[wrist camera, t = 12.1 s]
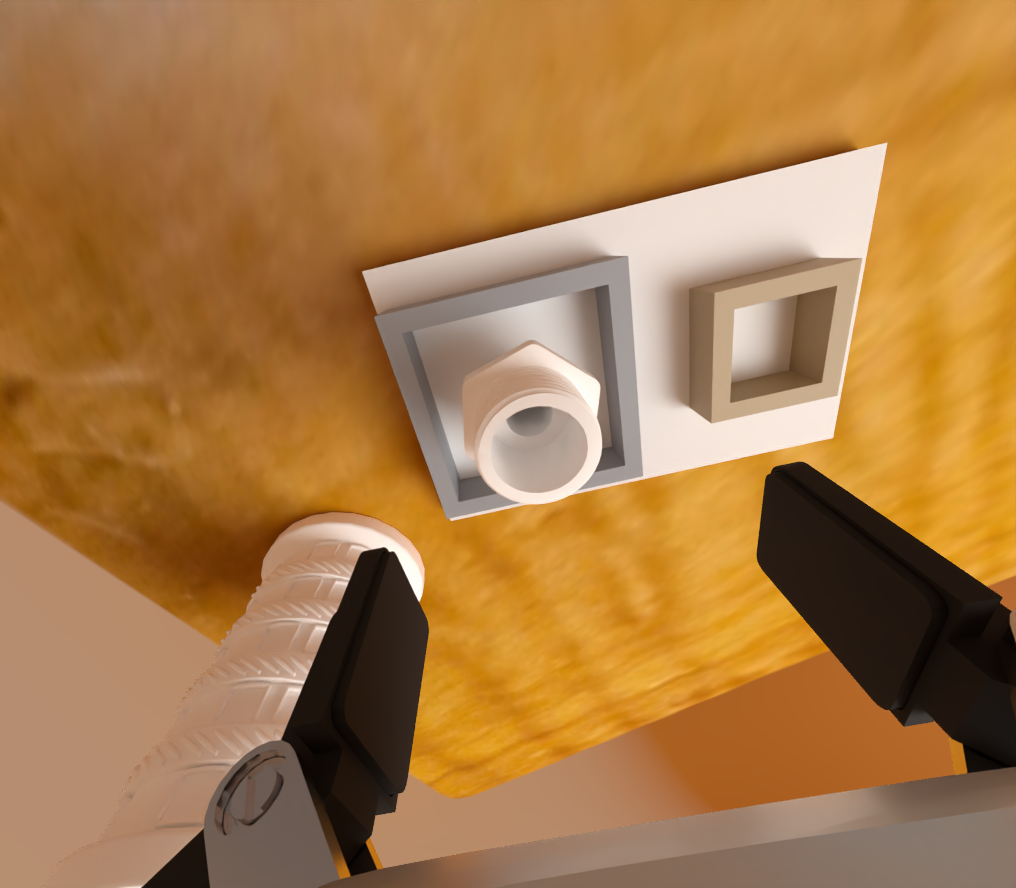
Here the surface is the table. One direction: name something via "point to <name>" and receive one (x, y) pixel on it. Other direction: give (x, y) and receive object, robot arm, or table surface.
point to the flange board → (649, 321)
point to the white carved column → (235, 698)
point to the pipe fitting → (532, 424)
